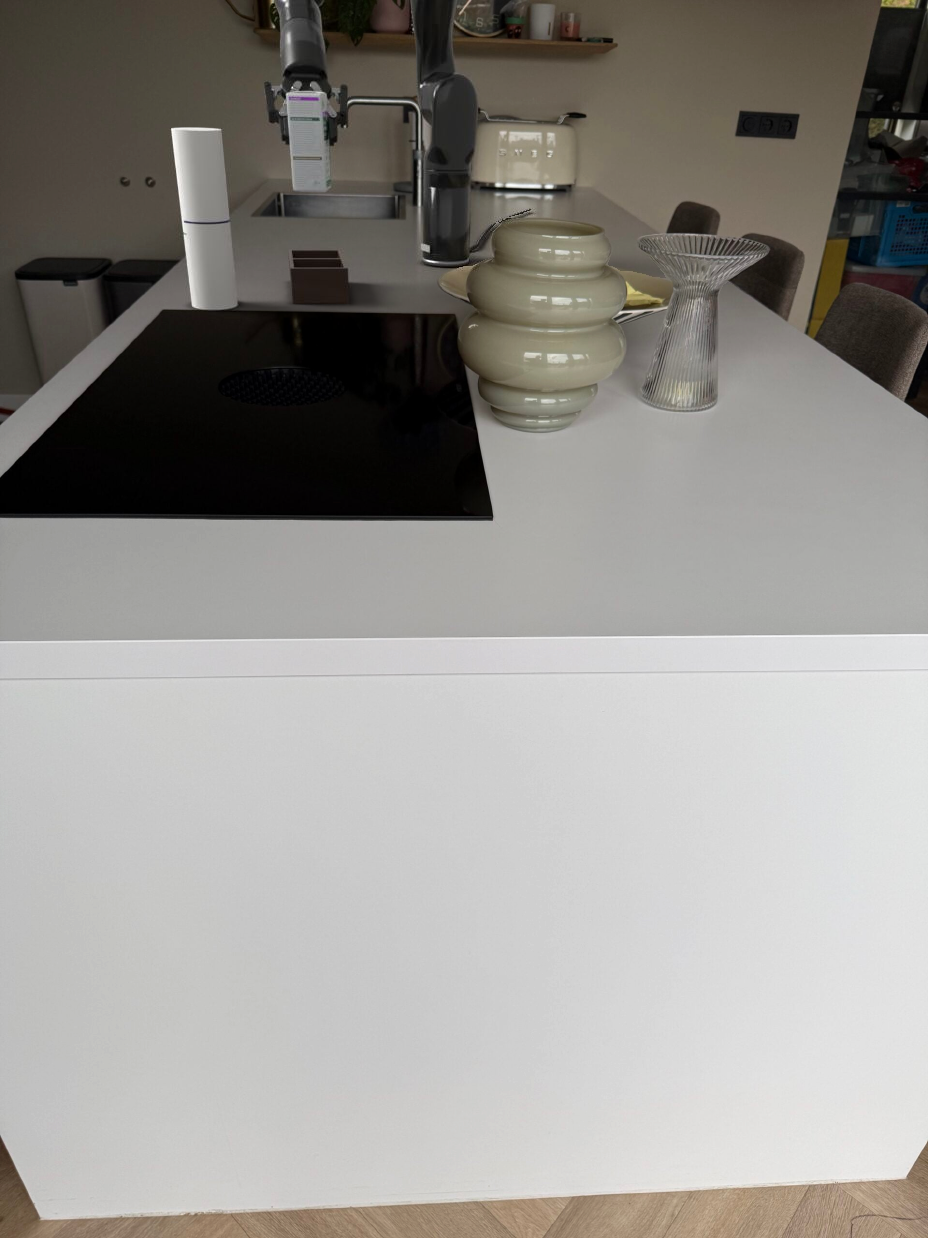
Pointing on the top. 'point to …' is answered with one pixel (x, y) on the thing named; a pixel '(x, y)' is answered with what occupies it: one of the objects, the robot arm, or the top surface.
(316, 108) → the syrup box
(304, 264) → the compartment organizer box
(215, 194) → the cylindrical container
